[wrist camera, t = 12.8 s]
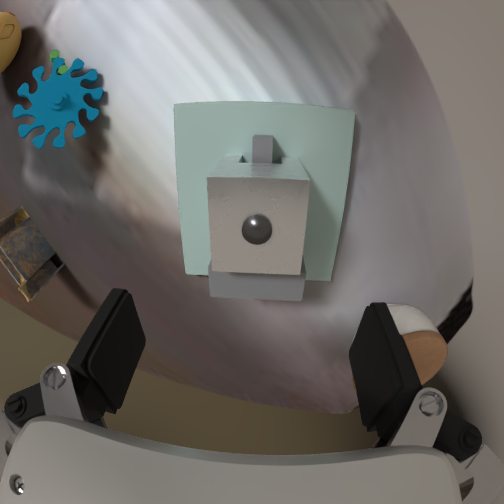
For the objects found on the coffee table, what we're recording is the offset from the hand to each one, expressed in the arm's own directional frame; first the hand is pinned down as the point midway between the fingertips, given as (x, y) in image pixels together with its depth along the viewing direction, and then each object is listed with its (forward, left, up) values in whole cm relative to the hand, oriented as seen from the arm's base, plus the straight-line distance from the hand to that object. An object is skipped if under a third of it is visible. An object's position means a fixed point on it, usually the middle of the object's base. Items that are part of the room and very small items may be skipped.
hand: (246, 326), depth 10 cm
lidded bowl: (+18, +18, -19) cm, 32 cm away
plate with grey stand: (+1, 0, -19) cm, 19 cm away
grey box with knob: (0, 0, -17) cm, 17 cm away
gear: (-11, -20, -19) cm, 30 cm away
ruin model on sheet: (+7, -32, -19) cm, 38 cm away
